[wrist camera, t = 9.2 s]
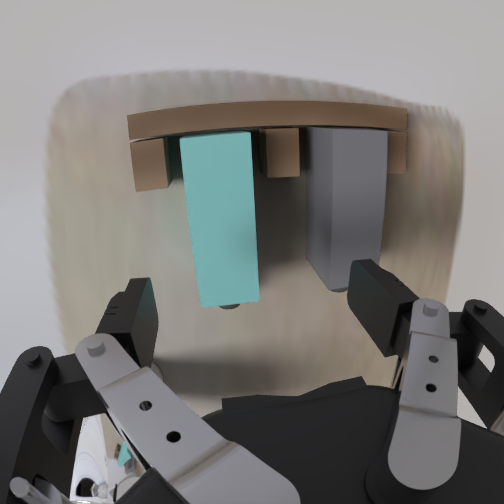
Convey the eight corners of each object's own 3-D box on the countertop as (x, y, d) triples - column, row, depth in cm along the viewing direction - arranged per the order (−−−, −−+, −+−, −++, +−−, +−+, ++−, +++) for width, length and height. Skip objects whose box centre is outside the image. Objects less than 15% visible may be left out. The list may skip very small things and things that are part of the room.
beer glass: (115, 399, 28) (97, 527, 14) (86, 352, 25) (44, 494, 11) (177, 393, 28) (178, 532, 15) (153, 343, 25) (137, 505, 12)
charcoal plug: (346, 268, 25) (373, 300, 21) (305, 274, 25) (327, 308, 20) (350, 126, 21) (387, 131, 16) (304, 126, 20) (332, 129, 16)
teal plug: (249, 282, 24) (260, 320, 20) (203, 288, 24) (204, 327, 19) (239, 129, 20) (250, 132, 15) (185, 134, 19) (179, 139, 15)
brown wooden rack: (387, 167, 22) (405, 173, 20) (143, 183, 20) (136, 192, 18) (388, 108, 20) (406, 108, 18) (136, 115, 18) (127, 115, 16)
